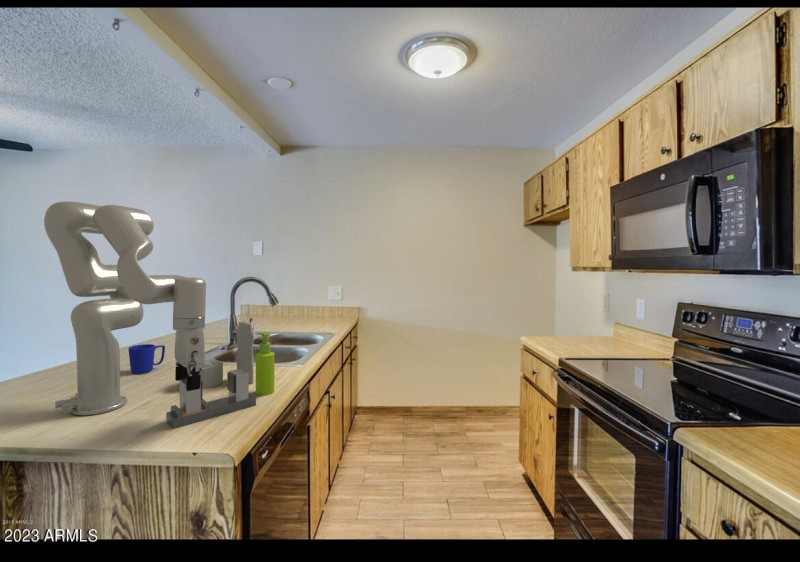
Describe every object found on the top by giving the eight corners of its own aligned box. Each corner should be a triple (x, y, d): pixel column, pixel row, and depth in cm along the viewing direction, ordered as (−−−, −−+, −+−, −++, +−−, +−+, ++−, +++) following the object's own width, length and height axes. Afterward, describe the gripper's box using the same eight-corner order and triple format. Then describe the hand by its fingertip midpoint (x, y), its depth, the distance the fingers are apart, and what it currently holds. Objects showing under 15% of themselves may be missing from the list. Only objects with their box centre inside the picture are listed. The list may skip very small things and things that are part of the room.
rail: (172, 428, 91) (172, 389, 90) (166, 421, 95) (165, 383, 95) (255, 405, 107) (256, 371, 107) (247, 399, 111) (247, 367, 111)
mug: (169, 369, 140) (169, 344, 140) (134, 376, 130) (133, 350, 130) (159, 365, 145) (159, 341, 144) (124, 372, 135) (124, 347, 134)
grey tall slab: (231, 379, 130) (231, 320, 129) (242, 376, 133) (242, 319, 132) (247, 385, 124) (248, 323, 123) (258, 382, 127) (258, 322, 126)
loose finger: (186, 414, 93) (185, 384, 93) (179, 408, 97) (179, 379, 97) (203, 409, 96) (203, 381, 96) (196, 403, 100) (196, 376, 100)
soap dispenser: (266, 387, 123) (267, 330, 122) (277, 391, 118) (278, 333, 117) (250, 391, 118) (250, 332, 117) (261, 396, 114) (261, 335, 113)
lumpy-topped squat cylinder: (226, 382, 127) (226, 359, 126) (189, 393, 116) (188, 367, 115) (210, 377, 132) (210, 354, 132) (173, 387, 121) (173, 362, 121)
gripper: (215, 327, 92) (213, 390, 93) (193, 317, 104) (192, 373, 105) (183, 330, 87) (181, 397, 88) (164, 319, 99) (162, 378, 100)
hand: (187, 384), depth 96 cm, fingers open, 9 cm apart
